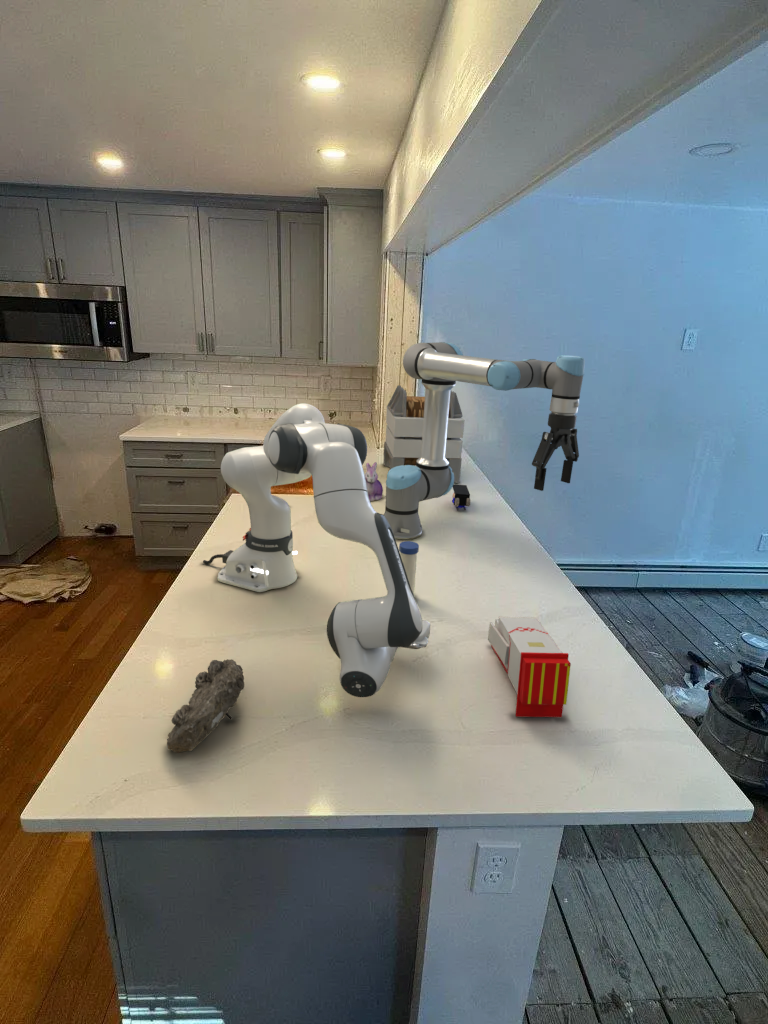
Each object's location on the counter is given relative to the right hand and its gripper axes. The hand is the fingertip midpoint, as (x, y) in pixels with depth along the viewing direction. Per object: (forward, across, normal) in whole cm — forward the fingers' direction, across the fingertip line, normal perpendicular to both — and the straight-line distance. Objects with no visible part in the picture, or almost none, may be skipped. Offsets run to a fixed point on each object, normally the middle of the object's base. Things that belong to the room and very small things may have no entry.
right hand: (552, 485), depth 166 cm
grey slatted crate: (+28, +46, +101) cm, 115 cm away
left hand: (+20, -62, 0) cm, 65 cm away
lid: (+13, -44, +13) cm, 48 cm away
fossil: (+28, -107, 0) cm, 110 cm away
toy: (+28, -48, -29) cm, 63 cm away
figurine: (+28, +3, +84) cm, 89 cm away
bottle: (+28, -44, +13) cm, 54 cm away
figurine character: (+28, +26, +56) cm, 68 cm away
